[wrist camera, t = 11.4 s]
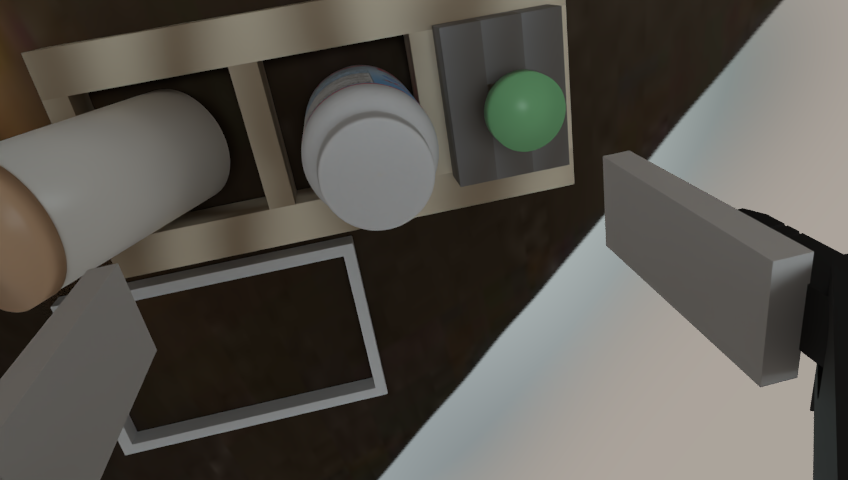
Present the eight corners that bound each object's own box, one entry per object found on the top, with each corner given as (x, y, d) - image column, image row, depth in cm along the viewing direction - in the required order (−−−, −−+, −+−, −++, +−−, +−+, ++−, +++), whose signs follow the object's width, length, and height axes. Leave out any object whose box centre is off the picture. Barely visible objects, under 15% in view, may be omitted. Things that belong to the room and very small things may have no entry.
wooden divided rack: (132, 260, 34) (107, 297, 30) (43, 47, 29) (-1, 58, 25) (559, 171, 36) (588, 195, 32) (546, -41, 31) (579, -45, 27)
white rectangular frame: (130, 442, 39) (125, 455, 38) (58, 296, 34) (50, 307, 33) (385, 382, 40) (387, 393, 39) (351, 235, 35) (352, 243, 34)
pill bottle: (429, 143, 34) (477, 211, 24) (334, 187, 34) (341, 272, 24) (388, 43, 31) (420, 71, 21) (285, 90, 32) (269, 140, 21)
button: (479, 143, 30) (493, 158, 27) (470, 71, 28) (485, 80, 26) (546, 129, 30) (567, 143, 27) (541, 58, 28) (563, 65, 26)
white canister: (161, 204, 33) (-31, 312, 24) (114, 97, 30) (-120, 171, 21) (247, 195, 30) (70, 312, 21) (204, 78, 28) (-17, 153, 19)
